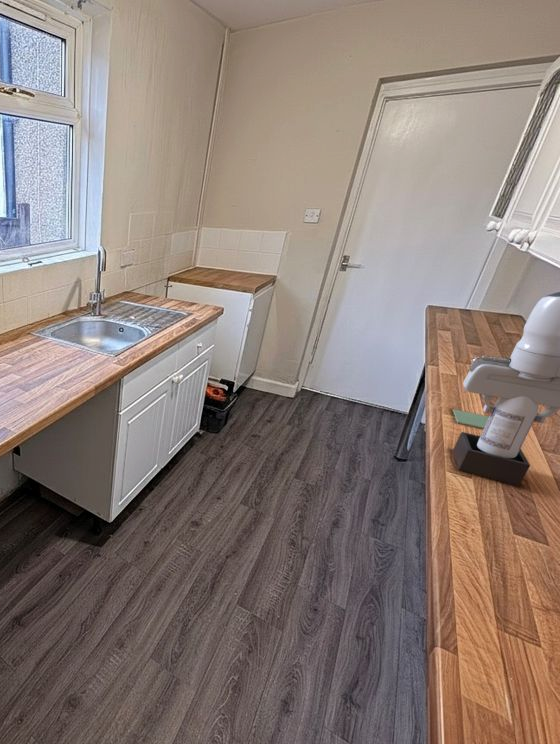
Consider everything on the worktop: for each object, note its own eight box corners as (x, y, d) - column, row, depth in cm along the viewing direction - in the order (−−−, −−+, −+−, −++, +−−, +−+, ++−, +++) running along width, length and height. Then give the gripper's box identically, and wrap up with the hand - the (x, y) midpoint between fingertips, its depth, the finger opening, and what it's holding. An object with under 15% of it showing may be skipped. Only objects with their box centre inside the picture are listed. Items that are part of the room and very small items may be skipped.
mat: (495, 419, 127) (496, 418, 126) (503, 433, 119) (504, 432, 119) (452, 410, 132) (453, 408, 132) (457, 422, 125) (457, 421, 124)
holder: (507, 464, 105) (518, 444, 103) (518, 486, 97) (530, 465, 95) (452, 450, 111) (461, 431, 109) (458, 470, 103) (468, 450, 101)
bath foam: (496, 444, 105) (530, 371, 97) (524, 459, 98) (563, 383, 91) (468, 443, 105) (499, 371, 97) (494, 459, 99) (530, 383, 91)
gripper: (477, 357, 96) (455, 410, 101) (613, 377, 85) (580, 435, 90) (472, 350, 101) (451, 400, 106) (601, 368, 89) (570, 423, 95)
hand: (512, 416), depth 98 cm, fingers closed on bath foam, 7 cm apart
